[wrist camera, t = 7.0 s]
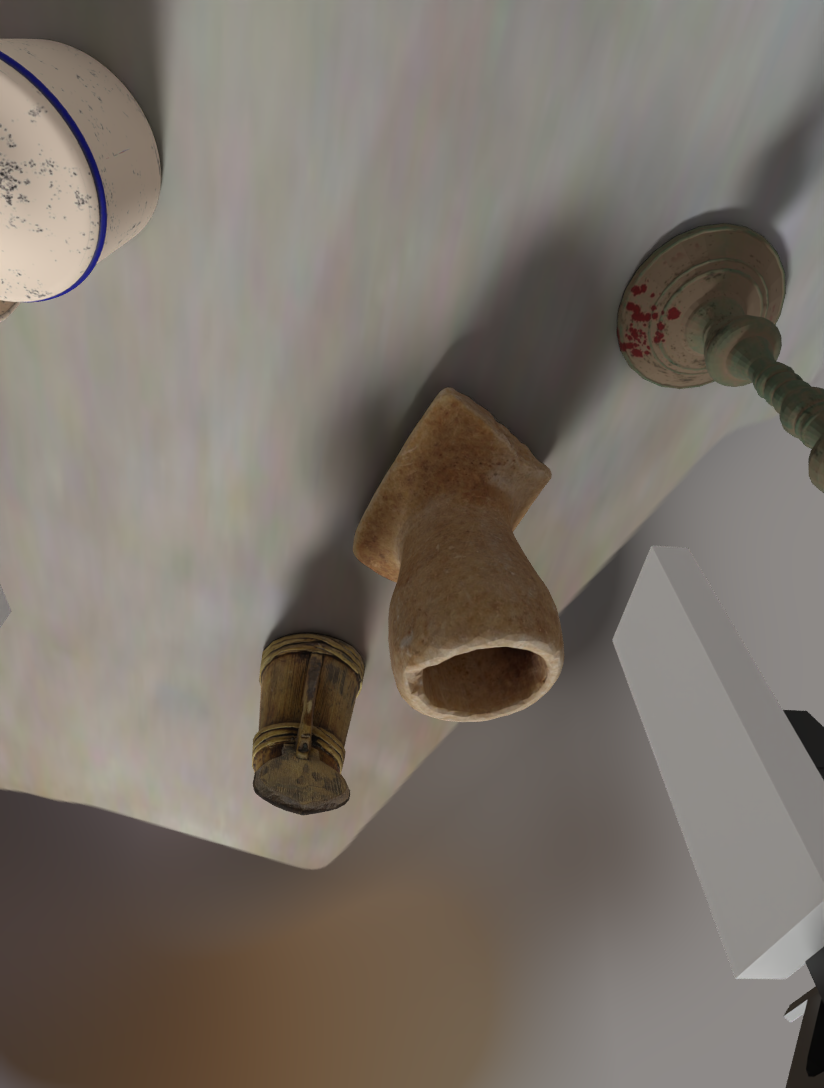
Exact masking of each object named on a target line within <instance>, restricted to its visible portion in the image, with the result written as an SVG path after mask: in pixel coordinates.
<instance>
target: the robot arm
mask: <svg viewBox="0 0 824 1088" xmlns="http://www.w3.org/2000/svg"><path fill="white" fill-rule="evenodd" d="M10 613H11V609H10V606H9V604H8V602H7V599H6V597H5V594H4V592H3V590H2V587H1V585H0V627H1V626H2V624H3V623H4V621H5V620H6V619H7V617H8V616H9V614H10ZM612 641H613V643H614V646H615V649H616V651H617V654H618V657H619V660H620V663H621V665H622V668H623V670H624V673H625V676H626V679H627V682H628V685H629V687H630V690H631V693H632V696H633V698H634V701H635V704H636V707H637V709H638V712H639V715H640V718H641V720H642V723H643V726H644V729H645V731H646V734H647V737H648V740H649V742H650V745H651V748H652V750H653V753H654V756H655V759H656V761H657V764H658V767H659V770H660V772H661V775H662V778H663V780H664V783H665V786H666V789H667V792H668V794H669V797H670V800H671V803H672V805H673V808H674V811H675V814H676V817H677V819H678V822H679V825H680V828H681V830H682V832H683V836H684V839H685V841H686V844H687V847H688V850H689V852H690V855H691V858H692V860H693V863H694V866H695V869H696V872H697V874H698V877H699V880H700V882H701V885H702V888H703V891H704V894H705V896H706V899H707V902H708V905H709V907H710V910H711V913H712V915H713V918H714V921H715V924H716V927H717V929H718V932H719V935H720V938H721V940H722V943H723V945H724V949H725V951H726V954H727V957H728V960H729V962H730V965H731V968H732V971H733V973H734V976H735V978H736V979H786V978H788V977H789V976H790V975H791V974H792V973H794V972H795V971H797V970H798V969H799V968H800V967H802V966H803V965H804V964H807V967H808V969H809V971H810V974H811V976H812V978H813V980H814V983H815V985H816V987H814V988H813V989H811V990H810V991H809V992H807V993H806V994H804V995H803V996H802V997H800V998H799V999H798V1000H796V1001H795V1002H793V1003H792V1004H791V1005H790V1006H789V1008H788V1009H787V1011H786V1013H785V1015H784V1018H786V1019H787V1020H788V1021H790V1022H793V1021H794V1020H796V1019H797V1018H798V1017H800V1016H801V1015H803V1014H804V1016H803V1020H802V1024H801V1029H800V1032H799V1036H798V1040H797V1044H796V1048H795V1052H794V1056H793V1061H792V1064H791V1069H790V1072H789V1077H788V1080H787V1085H786V1088H824V727H823V726H822V725H821V724H820V723H819V722H818V721H817V720H816V719H815V718H813V717H812V716H811V715H810V714H809V713H808V712H807V711H795V710H782V708H781V706H780V704H779V703H778V701H777V699H776V697H775V696H774V694H773V692H772V691H771V689H770V687H769V685H768V684H767V682H766V680H765V679H764V677H763V675H762V673H761V672H760V670H759V668H758V667H757V665H756V663H755V661H754V660H753V658H752V656H751V655H750V653H749V651H748V649H747V648H746V646H745V644H744V642H743V641H742V639H741V637H740V636H739V634H738V632H737V630H736V629H735V627H734V625H733V624H732V622H731V620H730V618H729V617H728V615H727V613H726V612H725V610H724V608H723V606H722V605H721V603H720V601H719V599H718V598H717V596H716V594H715V593H714V591H713V589H712V587H711V586H710V584H709V582H708V581H707V579H706V577H705V576H704V574H703V572H702V570H701V569H700V567H699V565H698V563H697V562H696V560H695V558H694V557H693V555H692V553H691V551H690V550H689V548H684V547H667V546H651V548H650V551H649V553H648V556H647V558H646V560H645V563H644V565H643V568H642V570H641V572H640V575H639V577H638V580H637V582H636V585H635V587H634V589H633V592H632V594H631V597H630V599H629V601H628V604H627V606H626V609H625V611H624V613H623V616H622V618H621V621H620V623H619V626H618V628H617V630H616V633H615V635H614V638H613V640H612Z"/></svg>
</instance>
